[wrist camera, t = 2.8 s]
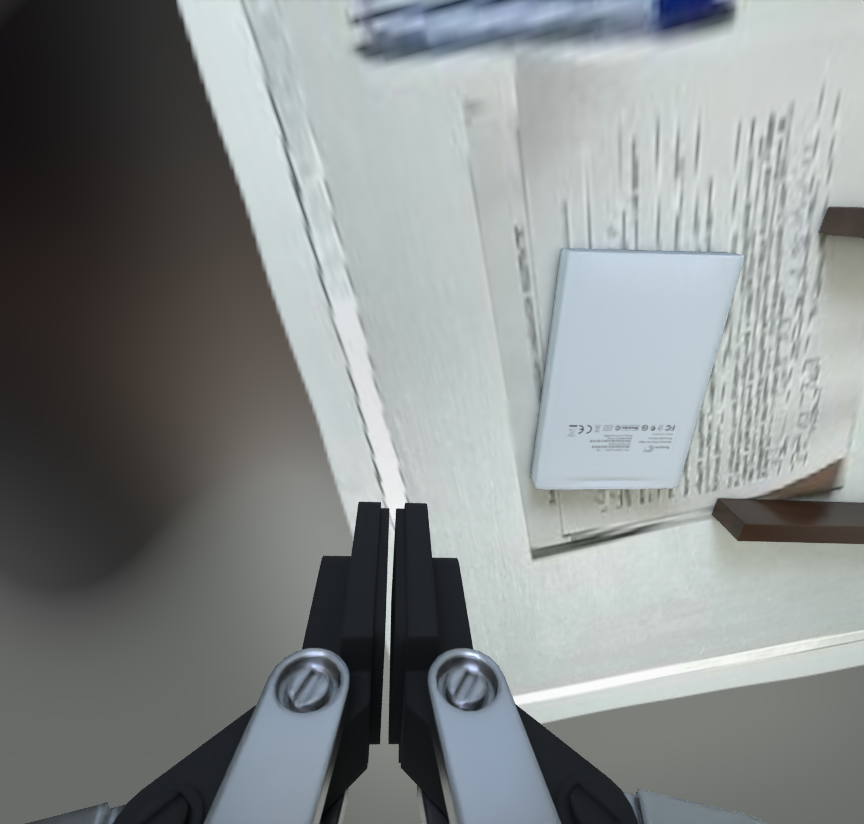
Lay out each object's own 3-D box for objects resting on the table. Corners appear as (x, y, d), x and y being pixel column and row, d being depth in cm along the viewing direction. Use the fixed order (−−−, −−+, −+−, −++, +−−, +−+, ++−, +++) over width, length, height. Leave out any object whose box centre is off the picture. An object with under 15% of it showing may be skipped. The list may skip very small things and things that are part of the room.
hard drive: (726, 252, 23) (667, 475, 28) (558, 247, 22) (528, 475, 28) (749, 255, 22) (681, 490, 27) (569, 250, 21) (535, 491, 26)
